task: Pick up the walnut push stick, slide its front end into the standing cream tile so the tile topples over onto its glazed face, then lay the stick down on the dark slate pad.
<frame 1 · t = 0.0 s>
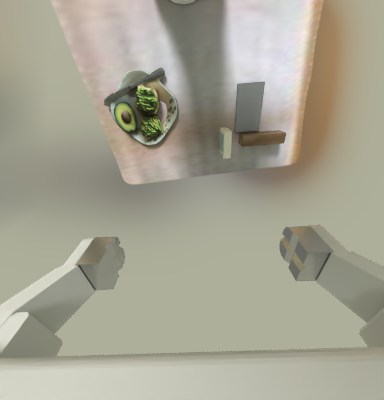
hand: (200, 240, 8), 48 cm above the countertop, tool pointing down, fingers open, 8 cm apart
salad plate: (143, 111, 48), on the countertop
push stick: (258, 136, 52), on the countertop
pad: (248, 108, 47), on the countertop
tile: (222, 139, 52), on the countertop
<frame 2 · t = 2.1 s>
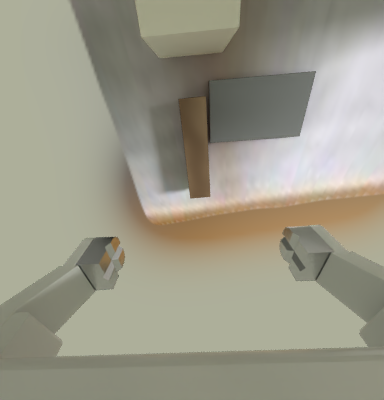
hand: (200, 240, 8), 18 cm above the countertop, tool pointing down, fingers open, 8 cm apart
push stick: (196, 146, 24), on the countertop
pad: (256, 110, 21), on the countertop
tile: (189, 43, 18), on the countertop
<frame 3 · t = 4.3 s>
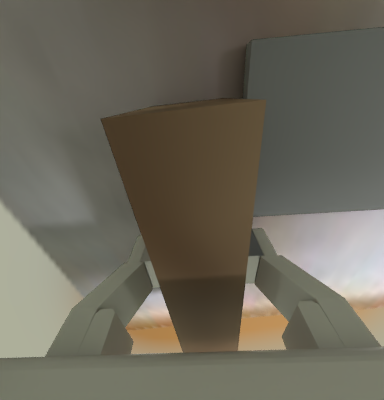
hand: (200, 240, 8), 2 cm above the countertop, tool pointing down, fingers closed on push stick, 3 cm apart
push stick: (199, 220, 10), on the countertop, touching gripper
pad: (376, 138, 7), on the countertop
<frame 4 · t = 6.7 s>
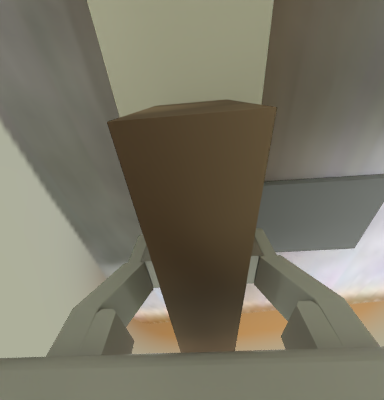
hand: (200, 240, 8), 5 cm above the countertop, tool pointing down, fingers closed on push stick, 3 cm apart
push stick: (199, 220, 10), point 3 cm above the countertop, touching gripper
pad: (293, 217, 14), on the countertop
tile: (190, 119, 9), point 1 cm above the countertop, tilted 90°
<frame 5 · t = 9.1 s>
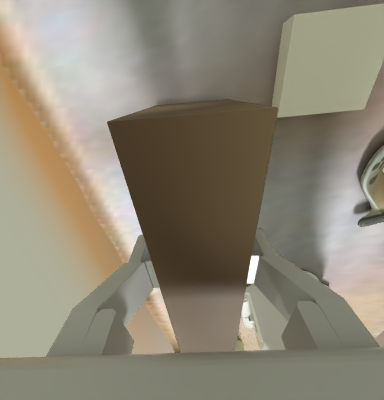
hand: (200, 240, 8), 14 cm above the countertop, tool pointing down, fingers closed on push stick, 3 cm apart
push stick: (199, 221, 10), point 12 cm above the countertop, touching gripper
tile: (279, 74, 15), point 1 cm above the countertop, tilted 90°
when the fingers open (3 cm above the countertop, at t = 11.1 s): push stick stays where it is, resting on pad.
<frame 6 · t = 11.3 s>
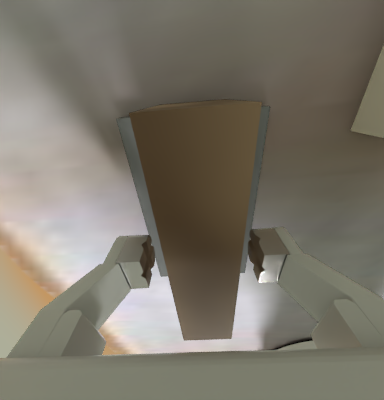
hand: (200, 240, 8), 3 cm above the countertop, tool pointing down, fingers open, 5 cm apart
push stick: (199, 212, 10), point 1 cm above the countertop, touching pad
pad: (198, 212, 11), on the countertop
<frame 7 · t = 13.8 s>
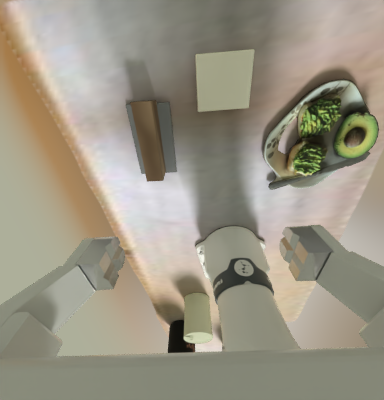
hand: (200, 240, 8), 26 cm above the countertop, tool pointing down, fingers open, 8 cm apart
salad plate: (314, 140, 31), on the countertop
can: (196, 298, 61), on the countertop
push stick: (153, 139, 30), point 1 cm above the countertop, touching pad
pad: (154, 141, 31), on the countertop
coffee jar: (182, 324, 73), on the countertop
tile: (196, 85, 25), point 1 cm above the countertop, tilted 90°
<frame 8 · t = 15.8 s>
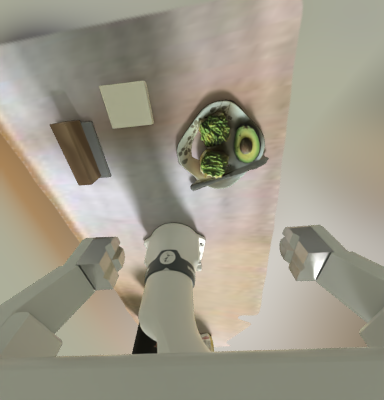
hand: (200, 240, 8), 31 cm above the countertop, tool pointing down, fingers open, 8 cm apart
salad plate: (221, 148, 37), on the countertop
push stick: (85, 151, 36), point 1 cm above the countertop, touching pad
pad: (87, 152, 37), on the countertop
coffee jar: (152, 317, 78), on the countertop
tile: (108, 108, 32), point 1 cm above the countertop, tilted 90°
juice carton: (203, 335, 89), on the countertop
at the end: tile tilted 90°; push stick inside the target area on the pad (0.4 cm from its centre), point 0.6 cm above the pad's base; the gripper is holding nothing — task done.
